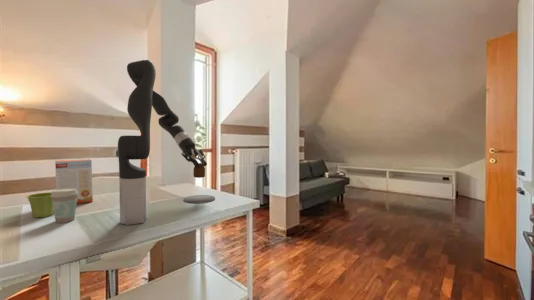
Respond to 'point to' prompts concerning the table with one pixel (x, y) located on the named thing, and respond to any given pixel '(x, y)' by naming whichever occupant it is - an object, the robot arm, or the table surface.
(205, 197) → the charcoal mat
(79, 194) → the cracker box
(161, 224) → the table surface
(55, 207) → the coffee cup
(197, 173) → the utensil holder
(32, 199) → the plant pot
